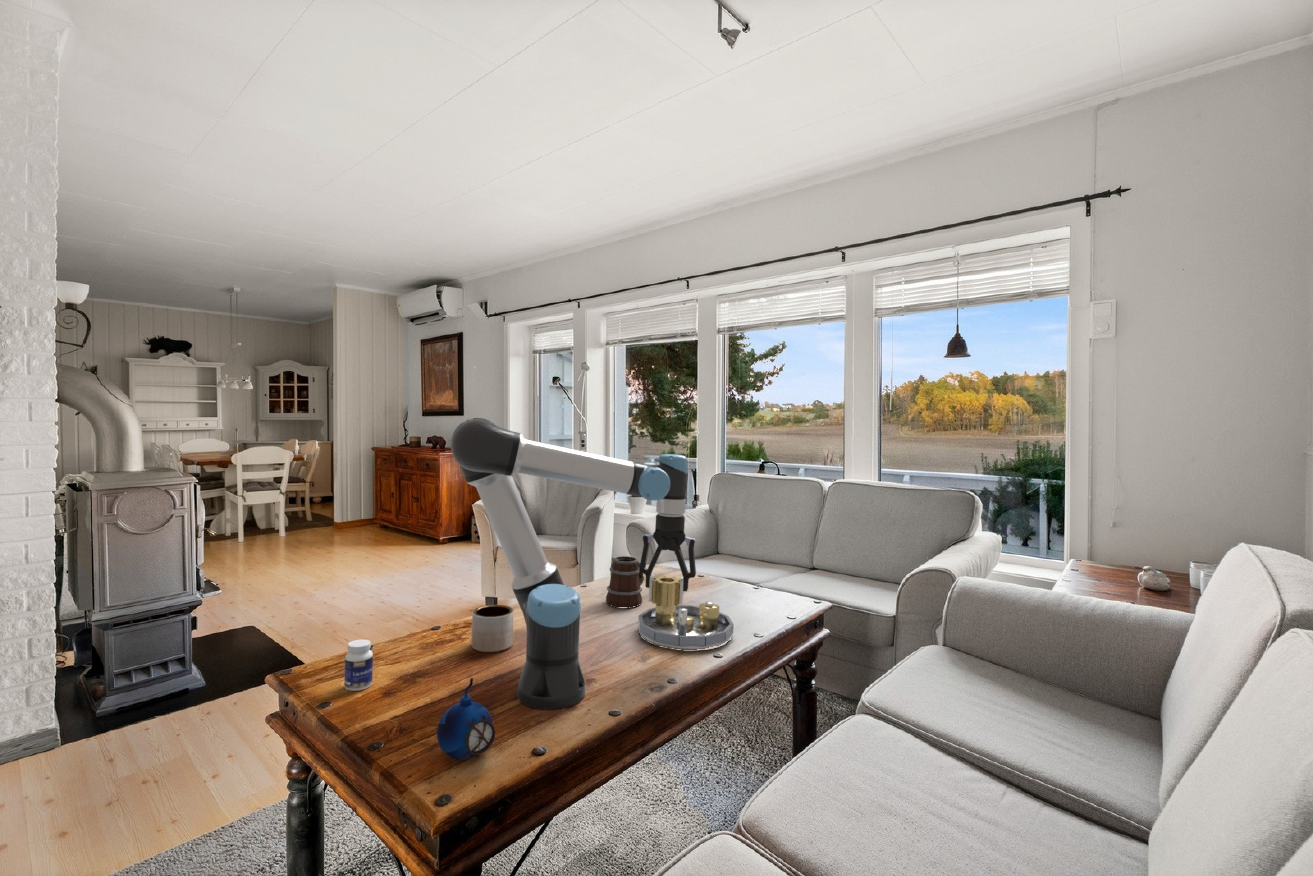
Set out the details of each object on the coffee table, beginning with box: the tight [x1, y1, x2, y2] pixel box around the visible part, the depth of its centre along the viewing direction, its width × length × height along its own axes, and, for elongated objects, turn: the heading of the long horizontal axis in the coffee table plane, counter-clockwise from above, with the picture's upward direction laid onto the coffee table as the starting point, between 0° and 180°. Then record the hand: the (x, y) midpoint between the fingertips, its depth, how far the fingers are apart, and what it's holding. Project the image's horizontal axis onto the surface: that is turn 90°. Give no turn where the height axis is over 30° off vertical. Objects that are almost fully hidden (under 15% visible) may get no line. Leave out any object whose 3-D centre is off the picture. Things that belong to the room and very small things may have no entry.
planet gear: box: [651, 575, 681, 607], centre depth 161 cm, size 7×7×6 cm
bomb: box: [436, 677, 497, 761], centre depth 113 cm, size 10×11×15 cm
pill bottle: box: [343, 639, 374, 692], centre depth 140 cm, size 6×6×10 cm
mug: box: [605, 555, 645, 609], centre depth 208 cm, size 16×12×15 cm
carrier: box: [637, 601, 734, 650], centre depth 180 cm, size 27×27×10 cm
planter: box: [470, 604, 514, 654], centre depth 166 cm, size 11×11×10 cm
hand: (666, 601), depth 161 cm, fingers closed on planet gear, 7 cm apart
